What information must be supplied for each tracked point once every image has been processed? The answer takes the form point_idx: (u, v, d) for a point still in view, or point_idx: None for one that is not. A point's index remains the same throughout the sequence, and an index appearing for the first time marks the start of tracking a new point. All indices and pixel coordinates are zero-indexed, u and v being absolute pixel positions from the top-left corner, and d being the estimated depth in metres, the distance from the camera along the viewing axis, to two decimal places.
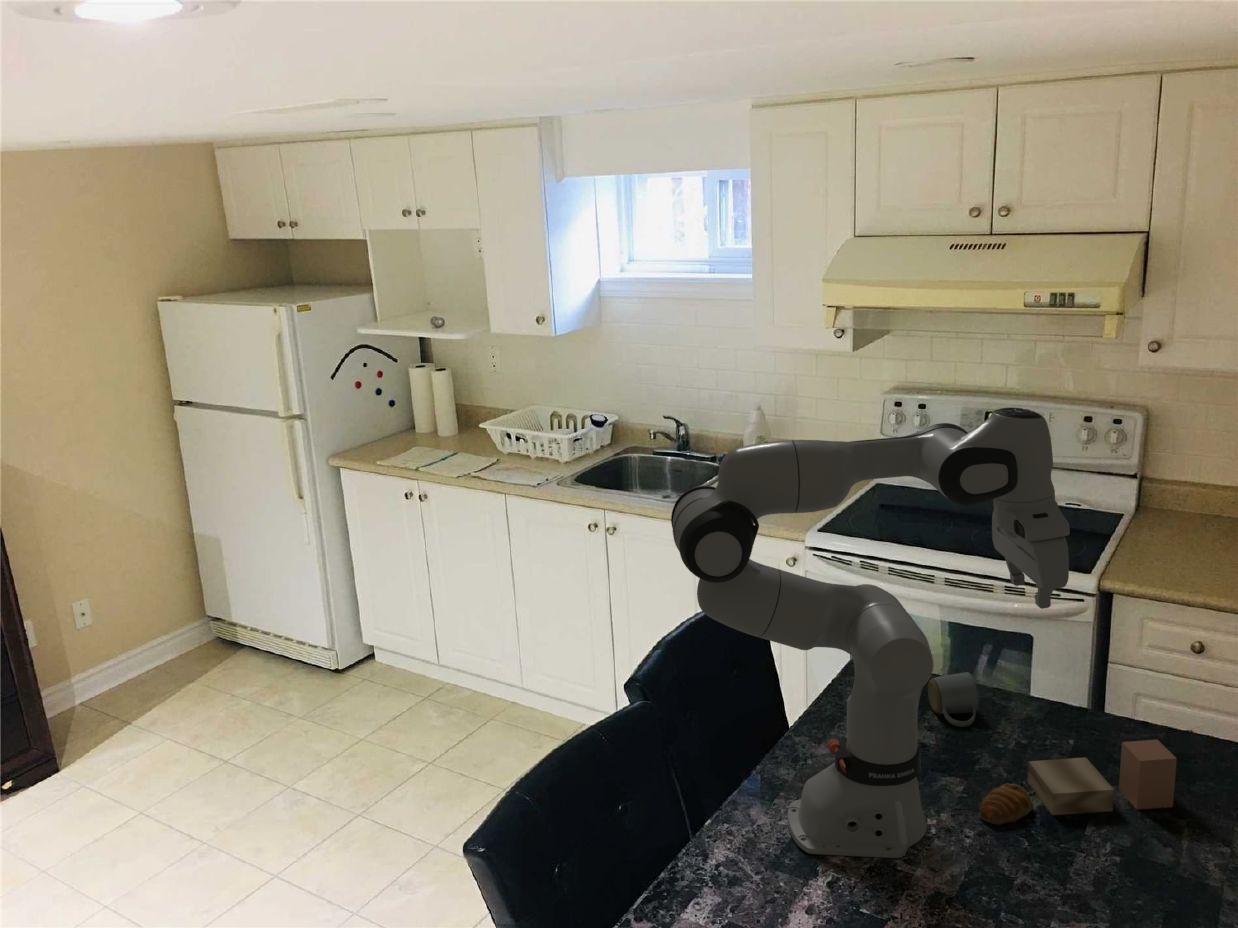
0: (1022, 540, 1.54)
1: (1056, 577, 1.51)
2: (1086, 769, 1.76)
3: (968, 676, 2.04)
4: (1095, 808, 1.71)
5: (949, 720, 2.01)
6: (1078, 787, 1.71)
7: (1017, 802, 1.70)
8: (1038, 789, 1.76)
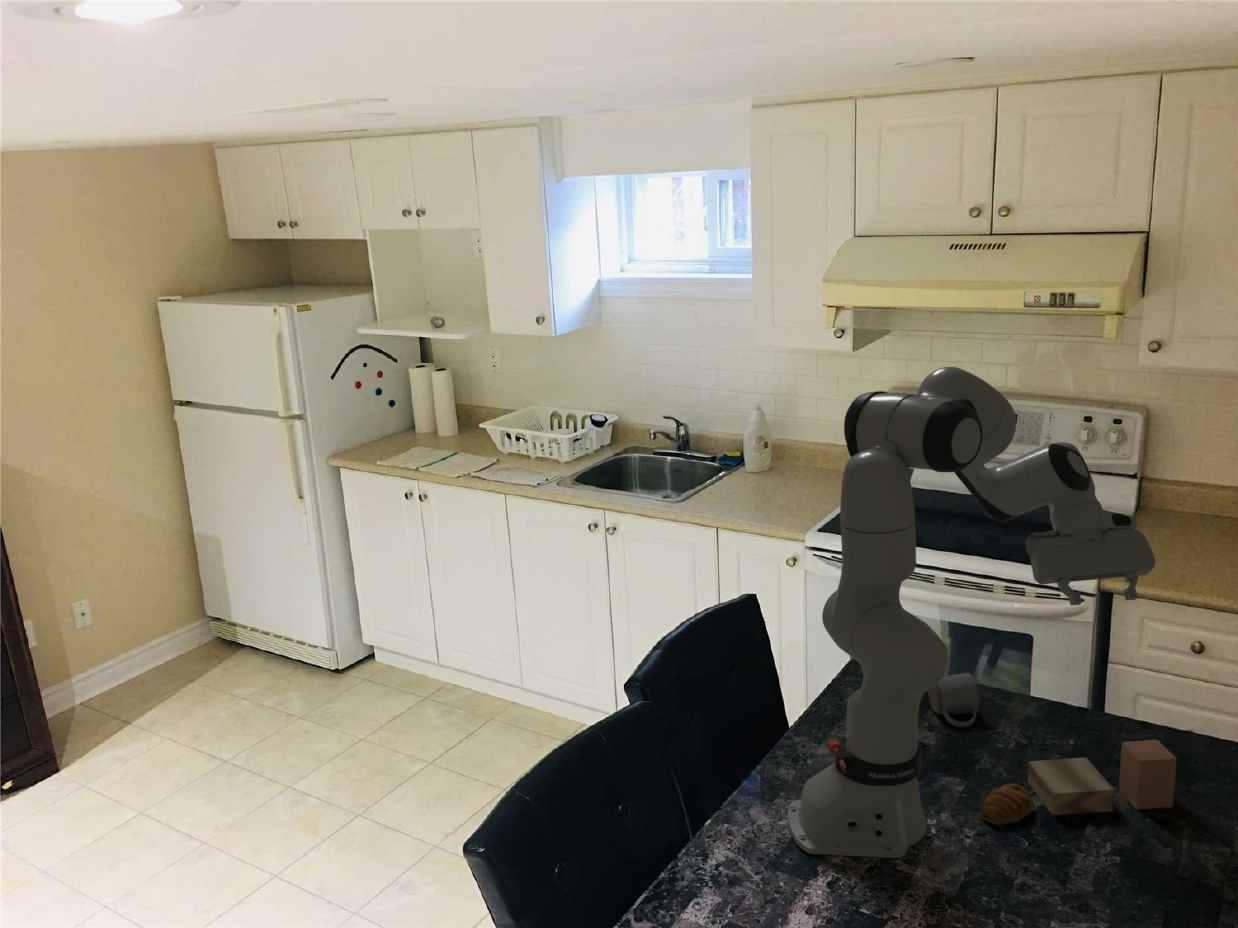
0: (1121, 531, 1.81)
1: None
2: (1086, 769, 1.76)
3: (969, 677, 2.03)
4: (1095, 808, 1.71)
5: (949, 721, 2.00)
6: (1078, 787, 1.71)
7: (1019, 802, 1.70)
8: (1038, 789, 1.76)
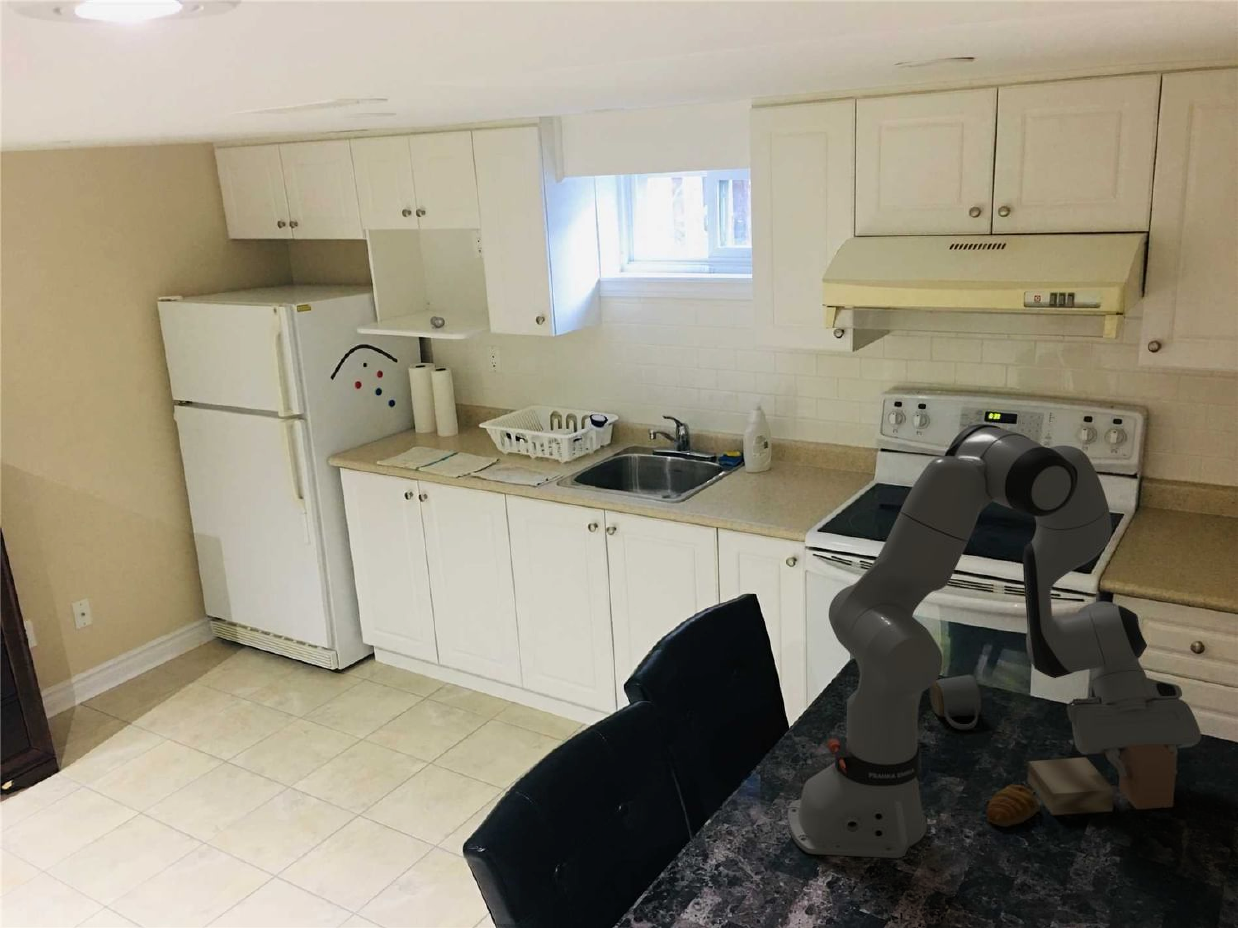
0: (1166, 701, 1.76)
1: None
2: (1086, 769, 1.76)
3: (970, 679, 2.02)
4: (1095, 808, 1.71)
5: (951, 723, 1.99)
6: (1078, 787, 1.71)
7: (1024, 803, 1.70)
8: (1038, 789, 1.76)
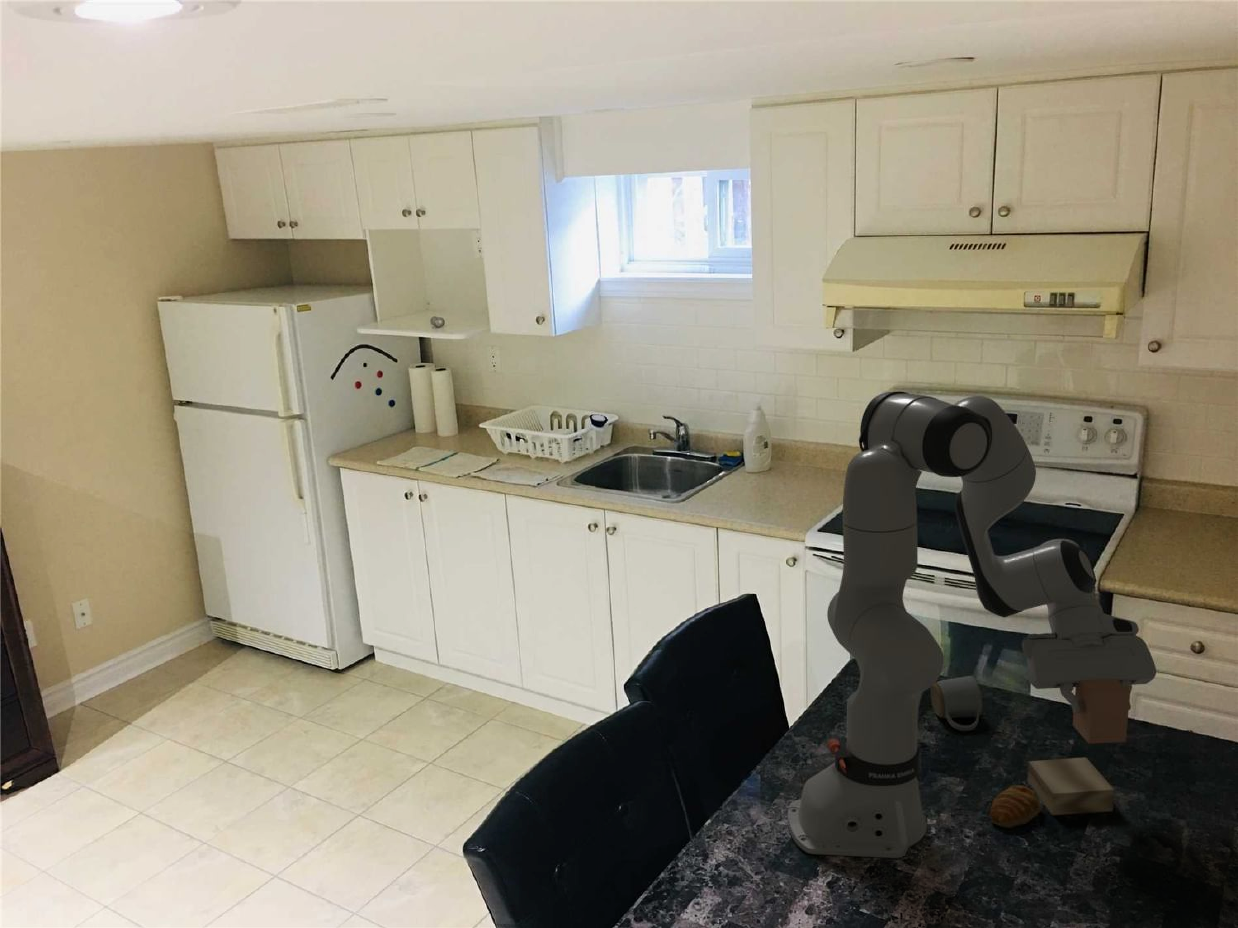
0: (1122, 637, 1.74)
1: None
2: (1086, 769, 1.76)
3: (971, 680, 2.02)
4: (1095, 808, 1.71)
5: (952, 724, 1.99)
6: (1078, 787, 1.71)
7: (1027, 804, 1.70)
8: (1038, 789, 1.76)
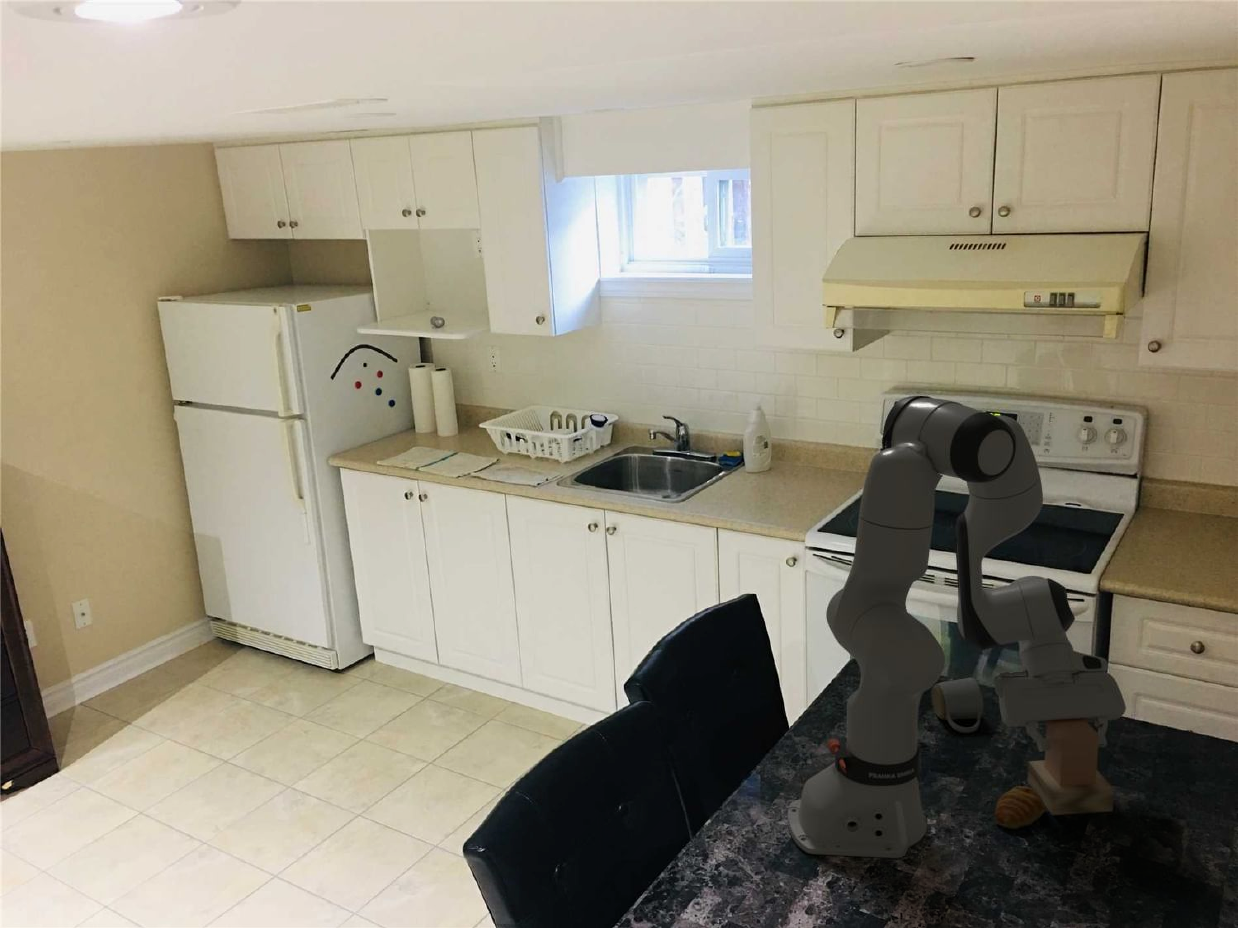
0: (1092, 674, 1.76)
1: None
2: None
3: (972, 681, 2.01)
4: (1095, 808, 1.71)
5: (953, 726, 1.98)
6: (1078, 787, 1.71)
7: (1032, 805, 1.69)
8: (1038, 789, 1.76)
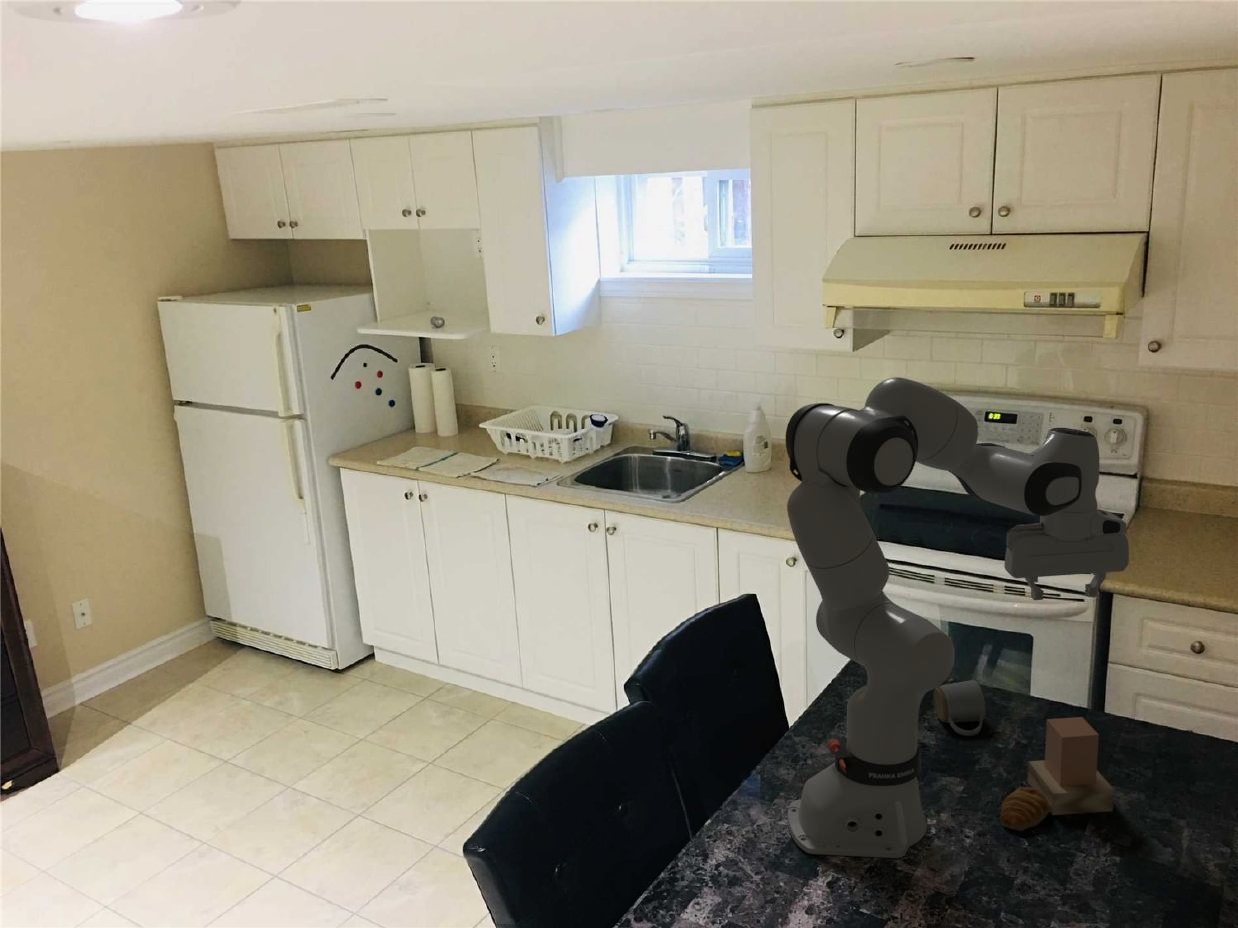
0: (1107, 537, 1.74)
1: None
2: None
3: (975, 684, 2.00)
4: (1095, 808, 1.71)
5: (955, 729, 1.97)
6: (1078, 787, 1.71)
7: (1037, 806, 1.69)
8: (1038, 789, 1.76)
